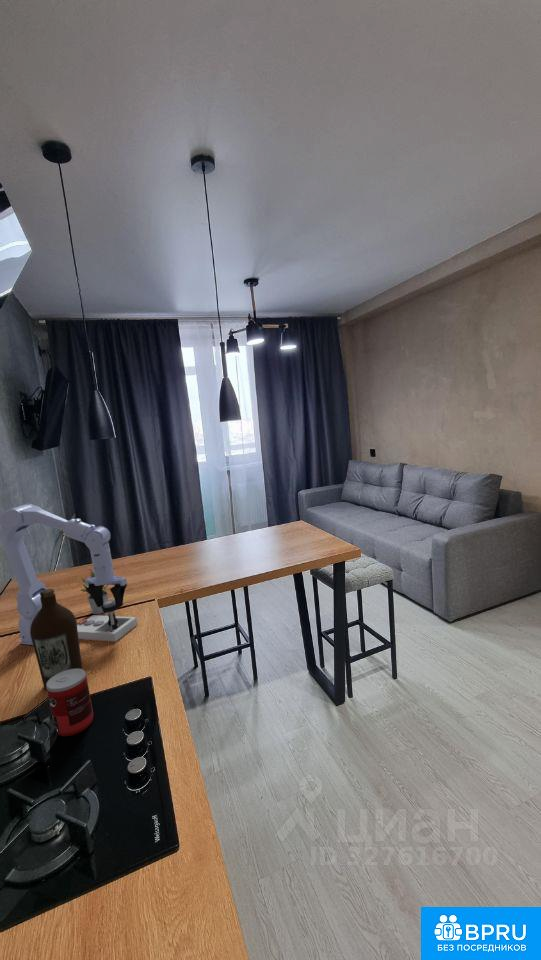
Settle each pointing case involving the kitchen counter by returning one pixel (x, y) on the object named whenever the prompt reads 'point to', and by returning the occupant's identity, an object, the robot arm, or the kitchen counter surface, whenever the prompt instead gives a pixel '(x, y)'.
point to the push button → (111, 614)
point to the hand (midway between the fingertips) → (110, 606)
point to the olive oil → (55, 638)
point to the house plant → (91, 601)
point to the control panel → (104, 628)
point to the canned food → (70, 701)
